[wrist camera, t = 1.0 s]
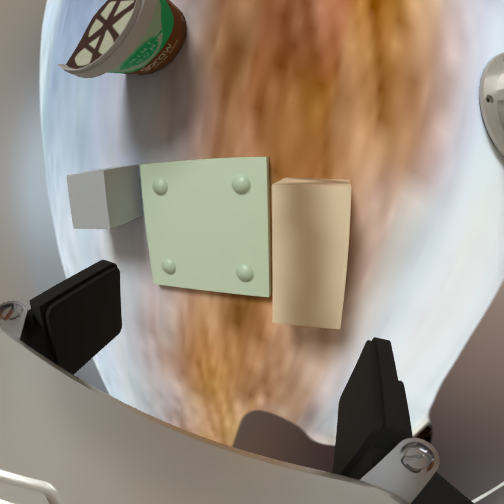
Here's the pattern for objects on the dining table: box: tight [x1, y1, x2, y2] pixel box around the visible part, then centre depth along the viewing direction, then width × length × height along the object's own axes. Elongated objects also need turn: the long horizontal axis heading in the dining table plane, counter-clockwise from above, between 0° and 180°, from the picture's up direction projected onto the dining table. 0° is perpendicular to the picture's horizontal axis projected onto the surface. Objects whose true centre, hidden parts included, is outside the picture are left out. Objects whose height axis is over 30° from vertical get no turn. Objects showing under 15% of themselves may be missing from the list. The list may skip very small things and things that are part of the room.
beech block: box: [272, 178, 351, 329], centre depth 27 cm, size 6×12×6 cm, turn 2°
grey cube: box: [67, 165, 143, 229], centre depth 32 cm, size 6×6×6 cm
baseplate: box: [140, 157, 271, 297], centre depth 32 cm, size 14×14×1 cm
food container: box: [58, 0, 187, 78], centre depth 23 cm, size 12×6×10 cm, turn 137°
